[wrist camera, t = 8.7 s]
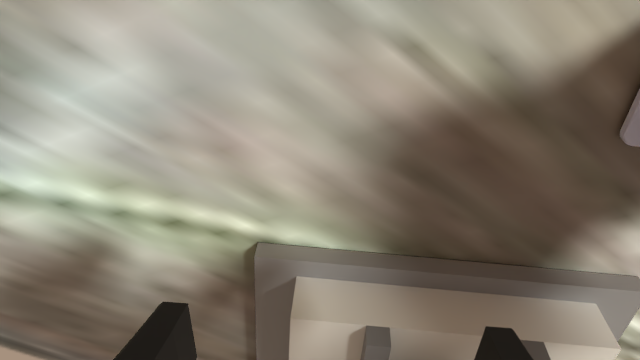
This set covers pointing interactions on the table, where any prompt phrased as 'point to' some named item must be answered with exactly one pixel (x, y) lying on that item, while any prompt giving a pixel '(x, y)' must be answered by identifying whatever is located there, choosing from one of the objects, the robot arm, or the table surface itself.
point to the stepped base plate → (429, 307)
